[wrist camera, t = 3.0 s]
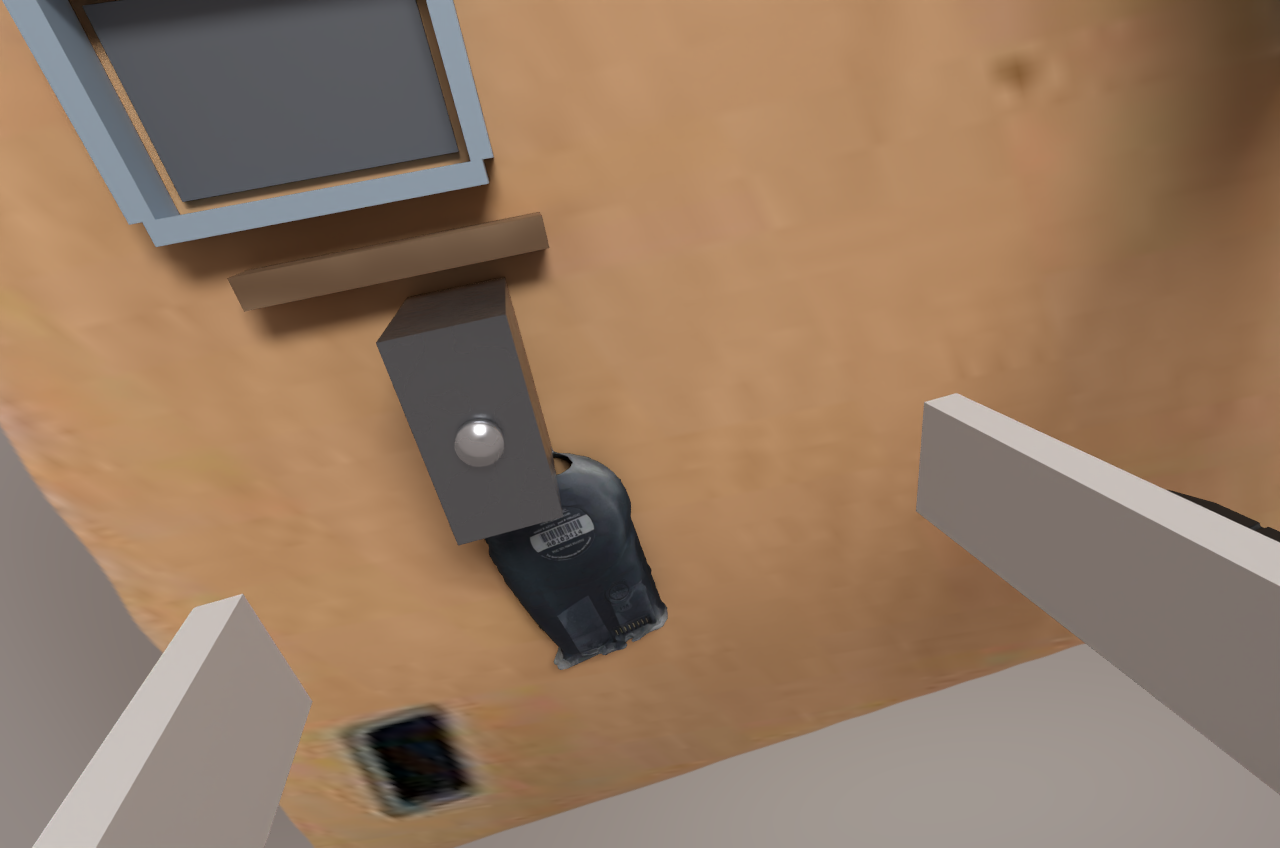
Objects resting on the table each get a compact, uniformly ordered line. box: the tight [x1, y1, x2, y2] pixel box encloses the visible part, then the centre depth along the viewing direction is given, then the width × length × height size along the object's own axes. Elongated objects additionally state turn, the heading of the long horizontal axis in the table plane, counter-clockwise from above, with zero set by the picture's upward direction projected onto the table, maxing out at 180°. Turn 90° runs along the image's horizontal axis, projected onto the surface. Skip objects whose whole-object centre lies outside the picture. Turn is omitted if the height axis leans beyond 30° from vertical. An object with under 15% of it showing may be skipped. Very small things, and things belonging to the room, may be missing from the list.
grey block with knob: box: [376, 277, 563, 545], centre depth 27 cm, size 10×5×9 cm, turn 10°
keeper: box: [2, 0, 494, 247], centre depth 23 cm, size 10×15×2 cm, turn 100°
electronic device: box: [485, 450, 668, 670], centre depth 36 cm, size 9×6×15 cm
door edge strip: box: [227, 212, 549, 312], centre depth 26 cm, size 2×14×2 cm, turn 99°
